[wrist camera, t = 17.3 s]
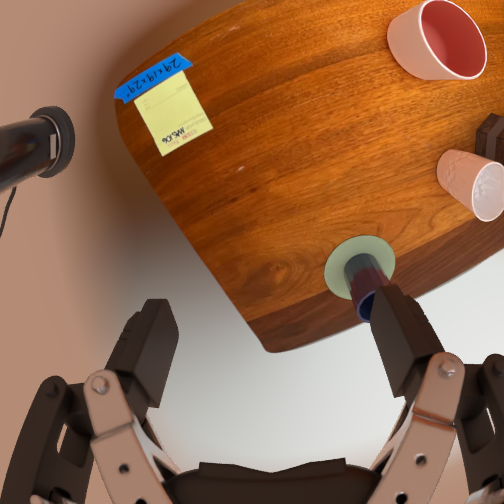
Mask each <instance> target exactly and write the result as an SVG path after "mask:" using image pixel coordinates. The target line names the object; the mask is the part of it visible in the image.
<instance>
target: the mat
mask: <svg viewBox="0 0 504 504" xmlns="http://www.w3.org/2000/svg"><path fill="white" fill-rule="evenodd" d="M361 253H368V254H371V255H373V256H375V257H376V259H377V260H378V261H379V263H380V265H381V266H382V268H383V270H384V272H385V274H386V275H387V277H388V279H389V280H390V278H391V276H392V274H393V271H394V268H395V255H394V252H393V250H392V248H391V247H390V245H389V244H388V243H387V242H386V241H385V240H383V239H381V238H379V237H377V236H373V235H360V236H355V237H352V238H350V239H348V240H346V241H344V242H342V243H341V244H340V245H338V246H337V247H336V248H335V249H334V250H333V251H332V253H331V254H330V256H329V257H328V259H327V262H326V264H325V269H324V277H325V281H326V284H327V286H328V287H329V289H330V290H331V291H332V292H333V293H334V294H336V295H337V296H340V297H342V298H345V299H352V298H351V295H350V292H349V289H348V287H347V284H346V281H345V278H344V274H343V271H344V267H345V265H346V263H347V262H348V260H349V259H351V258H352V257H353V256H355V255H357V254H361Z"/></svg>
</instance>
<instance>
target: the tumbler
mask: <svg viewBox="0 0 504 504" xmlns="http://www.w3.org/2000/svg"><path fill="white" fill-rule="evenodd" d="M343 274H344V278H345V281H346V284H347V287H348V289H349V292H350V295H351V298H352V301H353V304H354V307H355V310H356V313H357V316H358V318H359V319H360V320H362V321H363V322H366V323H370V316H371V311H372V306H373V301H374V296H375V291H376V288H377V286H380V285H389V284H391V283H390V281H389V279H388V277H387V275H386V274H385V272H384V270H383V268H382V266H381V265H380V263H379V261H378V260H377V259H376V257H375V256H373V255H371V254H368V253H361V254H357V255H355V256H353V257H352V258H351V259H349V260H348V262H347V263H346V265H345V267H344V271H343Z"/></svg>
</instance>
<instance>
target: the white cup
mask: <svg viewBox="0 0 504 504" xmlns="http://www.w3.org/2000/svg"><path fill="white" fill-rule="evenodd" d="M436 172H437V178H438V181H439V183H440V185H441V186H442V188H443V189H445V190H446V191H447V192H449V193H450V194H451V195H452V196H453V197H454V198H455V199H456V200H458V201H459V202H460V203H461V204H462V205H463V206H465V207H466V208H467V209H468V210H470V211H471V212H472V213H473V214H474V215H475V216H476V217H478V218H479V219H480V220H482V221H492V220H494V219H495V218H497V217H498V216H499V215H500V214H501V213H502V211H503V210H504V166H503V165H502V164H500V163H498V162H495V161H493V160H490V159H487V158H484V157H481V156H479V155H476V154H472V153H469V152H464V151H460V150H457V149H450V150H448V151H446V152H445V153H443V154H442V156H441V158H440V159H439V161H438V165H437V170H436Z"/></svg>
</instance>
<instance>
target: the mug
mask: <svg viewBox="0 0 504 504" xmlns="http://www.w3.org/2000/svg"><path fill="white" fill-rule="evenodd" d="M475 154H476V155H479V156H481V157H484V158H487V159H490V160H493V161H495V162H498V163H500V164H502V165H503V166H504V117H501V116H499V115H496V114H493V113H491V114H490V115H489V117H488V118H487V119H486V120H485V121H484V123H483V124H482V125H481V126H480V127H479V128H478V130H477V133H476V149H475Z"/></svg>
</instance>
